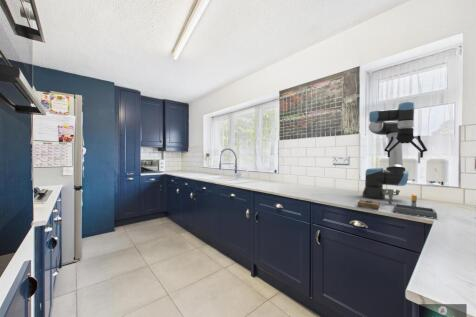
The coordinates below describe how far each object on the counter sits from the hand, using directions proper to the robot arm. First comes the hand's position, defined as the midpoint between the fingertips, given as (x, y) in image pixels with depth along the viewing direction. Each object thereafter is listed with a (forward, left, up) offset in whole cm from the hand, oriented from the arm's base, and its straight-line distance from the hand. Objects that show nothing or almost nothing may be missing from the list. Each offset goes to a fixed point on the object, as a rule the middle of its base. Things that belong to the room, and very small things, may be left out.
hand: (404, 162), depth 123 cm
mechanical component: (-13, -6, -29) cm, 33 cm away
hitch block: (+6, -17, -29) cm, 34 cm away
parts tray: (+6, +5, -29) cm, 30 cm away
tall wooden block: (+6, +5, -28) cm, 29 cm away
